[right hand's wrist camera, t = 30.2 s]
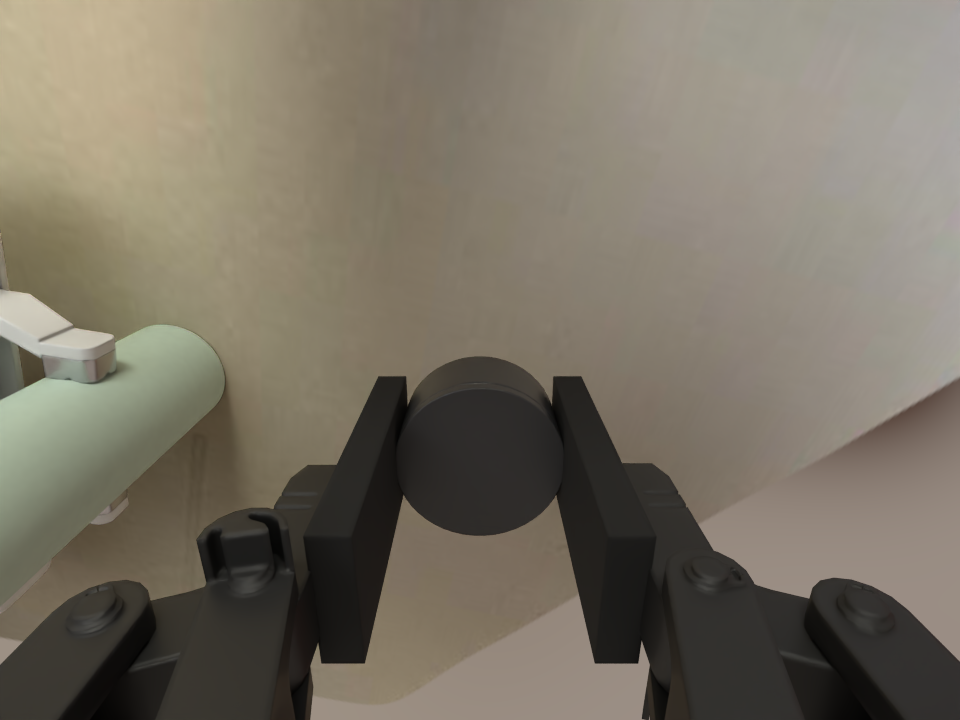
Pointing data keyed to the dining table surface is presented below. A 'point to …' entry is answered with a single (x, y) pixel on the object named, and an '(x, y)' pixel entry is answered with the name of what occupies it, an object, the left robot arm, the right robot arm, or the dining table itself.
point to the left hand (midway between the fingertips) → (113, 432)
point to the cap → (479, 447)
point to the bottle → (94, 441)
